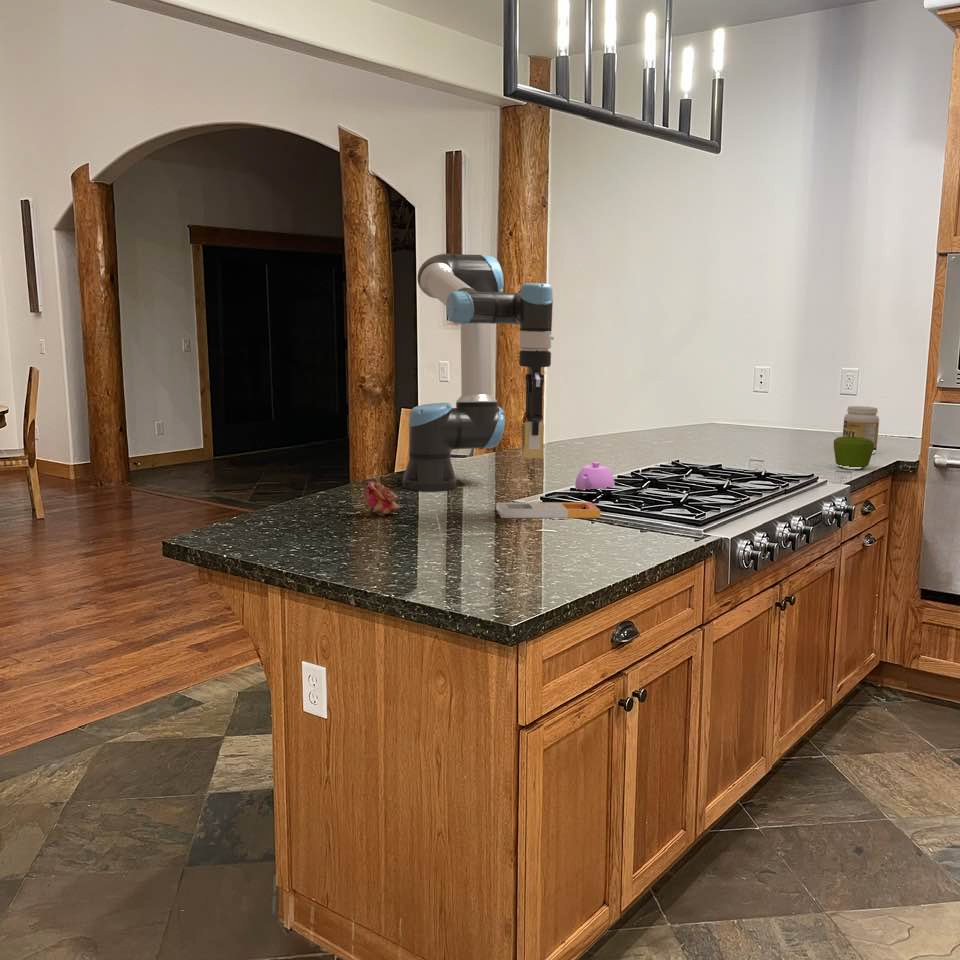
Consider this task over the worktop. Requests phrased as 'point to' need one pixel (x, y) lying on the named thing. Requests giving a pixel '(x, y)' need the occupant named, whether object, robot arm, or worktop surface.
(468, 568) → the worktop surface
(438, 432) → the robot arm
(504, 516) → the rail
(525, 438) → the brass nut block
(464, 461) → the worktop surface
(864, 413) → the supplement tub
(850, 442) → the apple
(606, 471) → the teapot
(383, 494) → the flower
